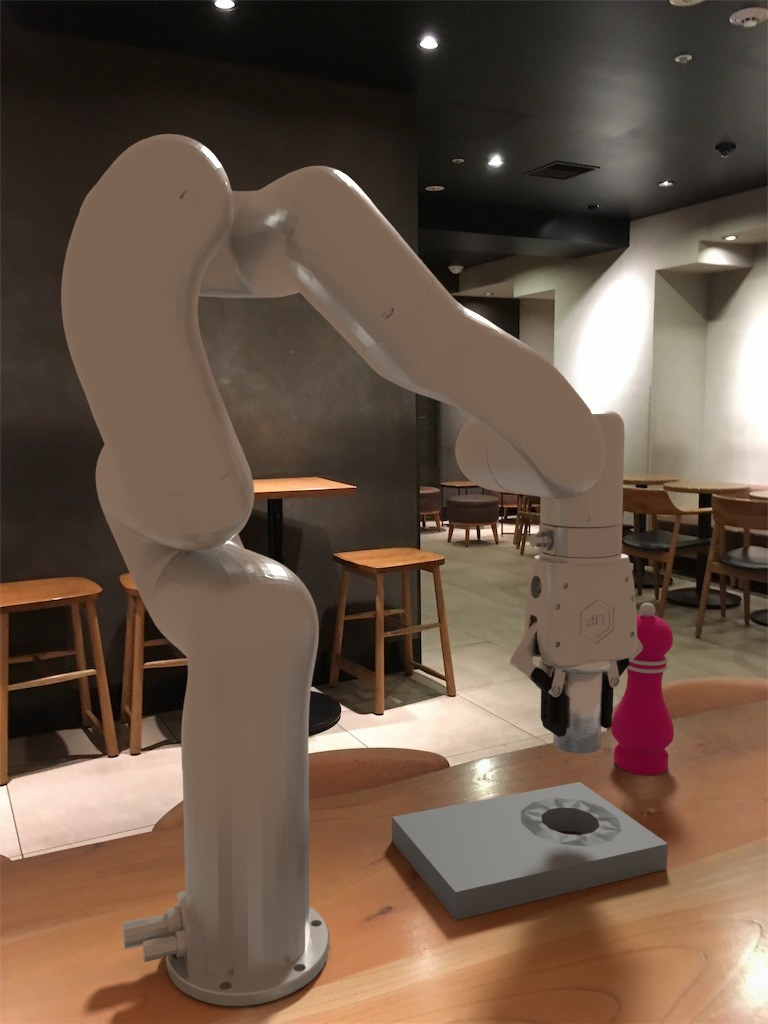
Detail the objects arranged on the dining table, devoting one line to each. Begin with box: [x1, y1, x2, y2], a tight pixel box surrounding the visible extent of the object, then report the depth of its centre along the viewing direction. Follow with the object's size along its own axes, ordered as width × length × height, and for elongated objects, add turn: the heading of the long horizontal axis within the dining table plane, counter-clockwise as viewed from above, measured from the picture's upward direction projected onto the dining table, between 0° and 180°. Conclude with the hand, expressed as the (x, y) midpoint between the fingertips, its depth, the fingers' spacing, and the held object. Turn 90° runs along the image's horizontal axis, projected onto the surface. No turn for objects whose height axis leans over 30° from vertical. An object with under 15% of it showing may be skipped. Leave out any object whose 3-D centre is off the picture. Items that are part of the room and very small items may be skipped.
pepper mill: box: [610, 602, 675, 776], centre depth 100 cm, size 7×7×20 cm
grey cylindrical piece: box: [548, 661, 611, 755], centre depth 81 cm, size 6×6×9 cm
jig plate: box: [391, 781, 669, 921], centre depth 80 cm, size 22×14×2 cm, turn 112°
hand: (576, 725), depth 81 cm, fingers closed on grey cylindrical piece, 4 cm apart
